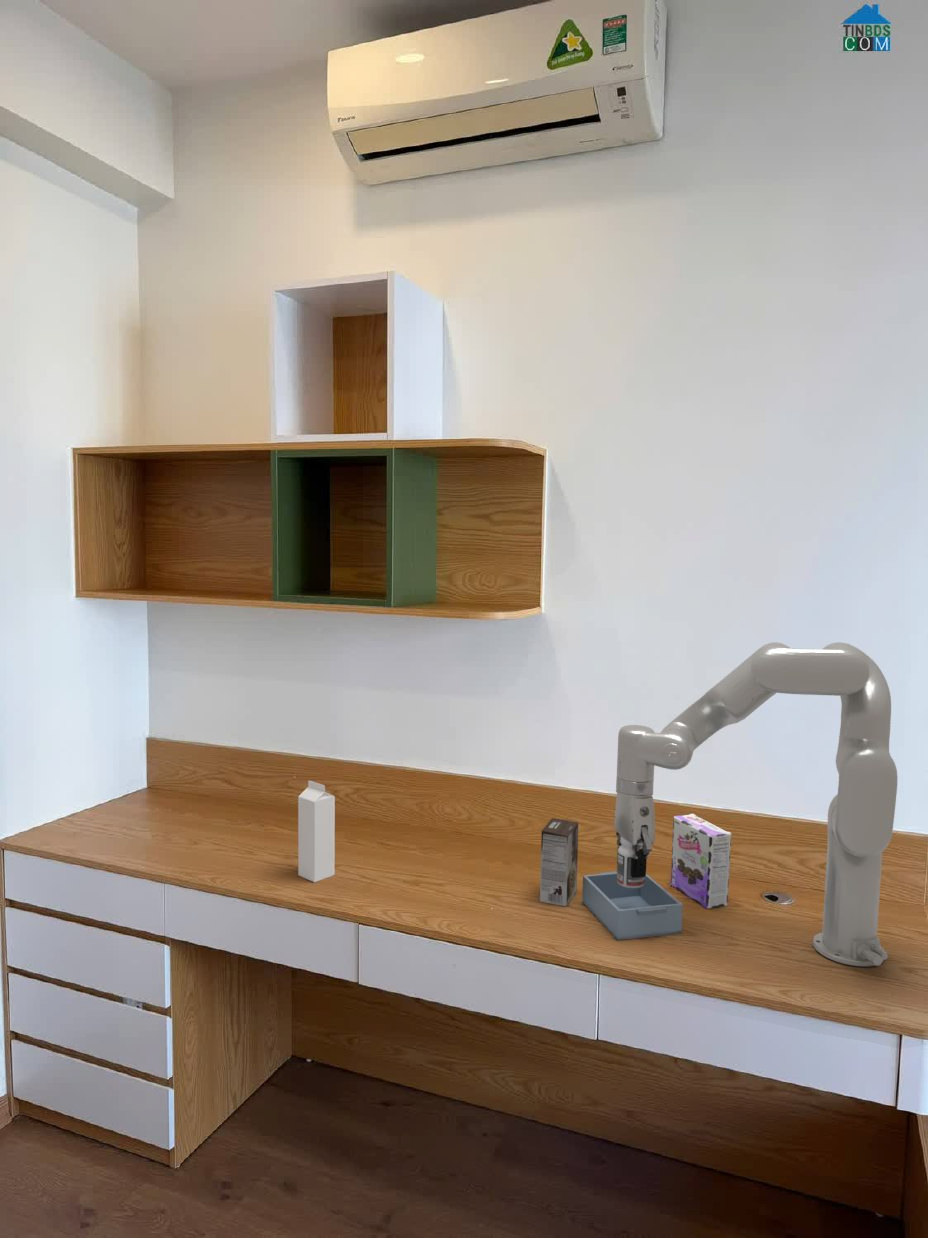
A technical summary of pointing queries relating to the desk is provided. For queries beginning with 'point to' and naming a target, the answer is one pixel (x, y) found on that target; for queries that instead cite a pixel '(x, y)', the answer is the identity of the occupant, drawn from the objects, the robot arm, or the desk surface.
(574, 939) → the desk surface
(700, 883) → the candy box
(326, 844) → the milk
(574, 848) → the coffee box
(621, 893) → the tote
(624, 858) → the pill bottle
